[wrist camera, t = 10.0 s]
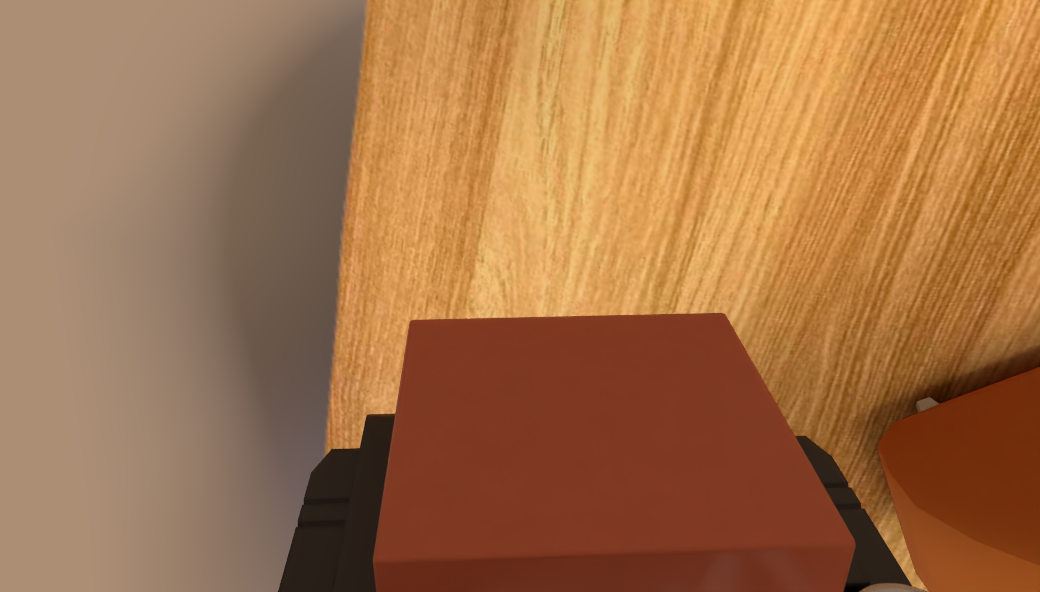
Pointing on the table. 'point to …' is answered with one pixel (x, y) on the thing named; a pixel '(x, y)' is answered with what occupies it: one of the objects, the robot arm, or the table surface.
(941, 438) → the orange toaster
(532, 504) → the block
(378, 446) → the robot arm
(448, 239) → the table surface
